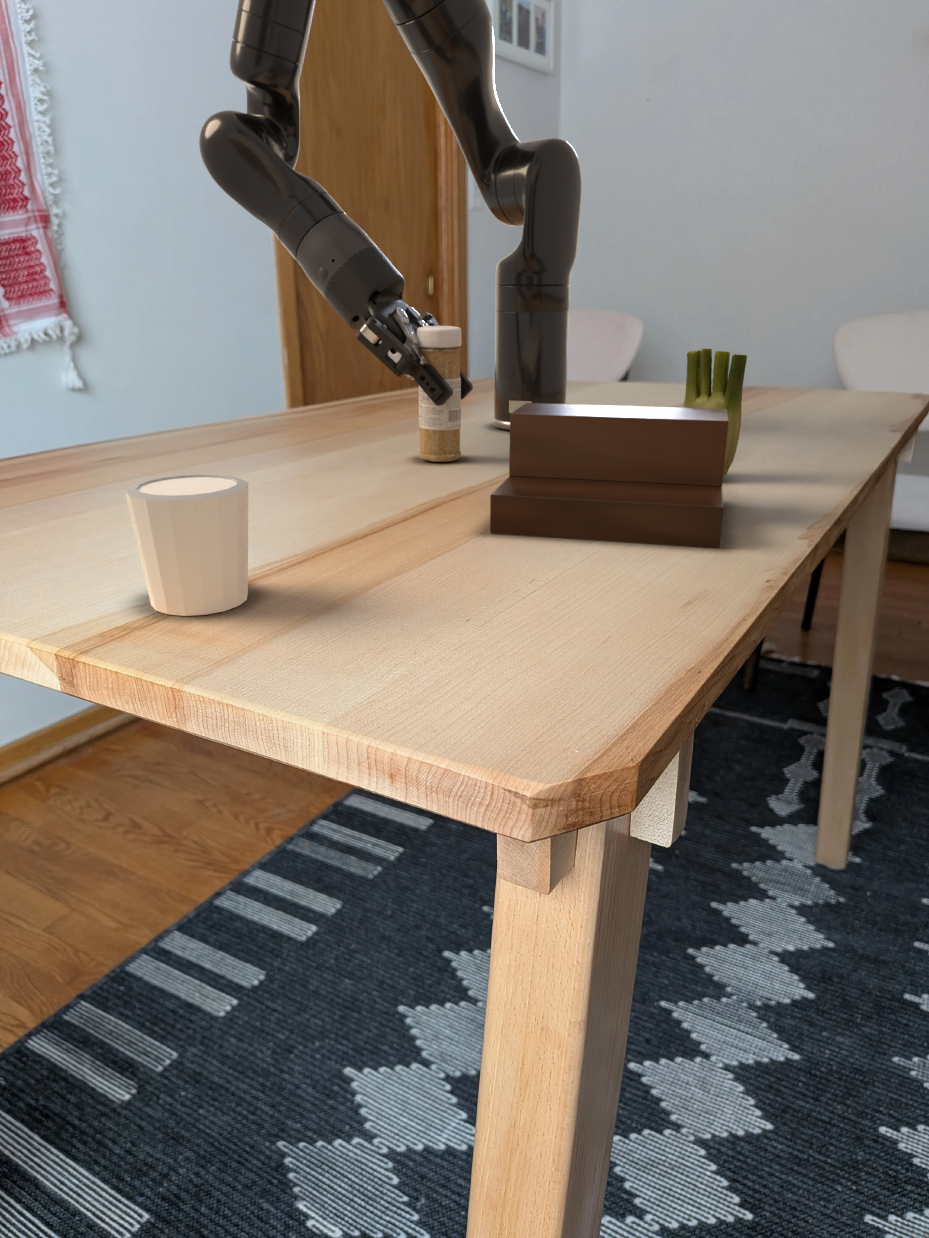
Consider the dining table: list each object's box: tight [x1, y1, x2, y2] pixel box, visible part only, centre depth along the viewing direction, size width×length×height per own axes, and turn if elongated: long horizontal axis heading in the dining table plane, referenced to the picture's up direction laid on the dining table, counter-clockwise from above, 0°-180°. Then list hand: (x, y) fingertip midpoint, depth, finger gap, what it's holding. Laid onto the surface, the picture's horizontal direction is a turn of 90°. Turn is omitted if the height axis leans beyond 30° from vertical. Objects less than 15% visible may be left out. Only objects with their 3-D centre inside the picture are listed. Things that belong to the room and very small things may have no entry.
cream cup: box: [124, 474, 249, 617], centre depth 54 cm, size 7×7×7 cm
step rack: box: [489, 403, 729, 549], centre depth 72 cm, size 14×17×8 cm
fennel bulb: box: [682, 348, 748, 478], centre depth 86 cm, size 6×5×12 cm
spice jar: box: [417, 325, 463, 463], centre depth 95 cm, size 5×5×14 cm
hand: (456, 396), depth 94 cm, fingers closed on spice jar, 4 cm apart
